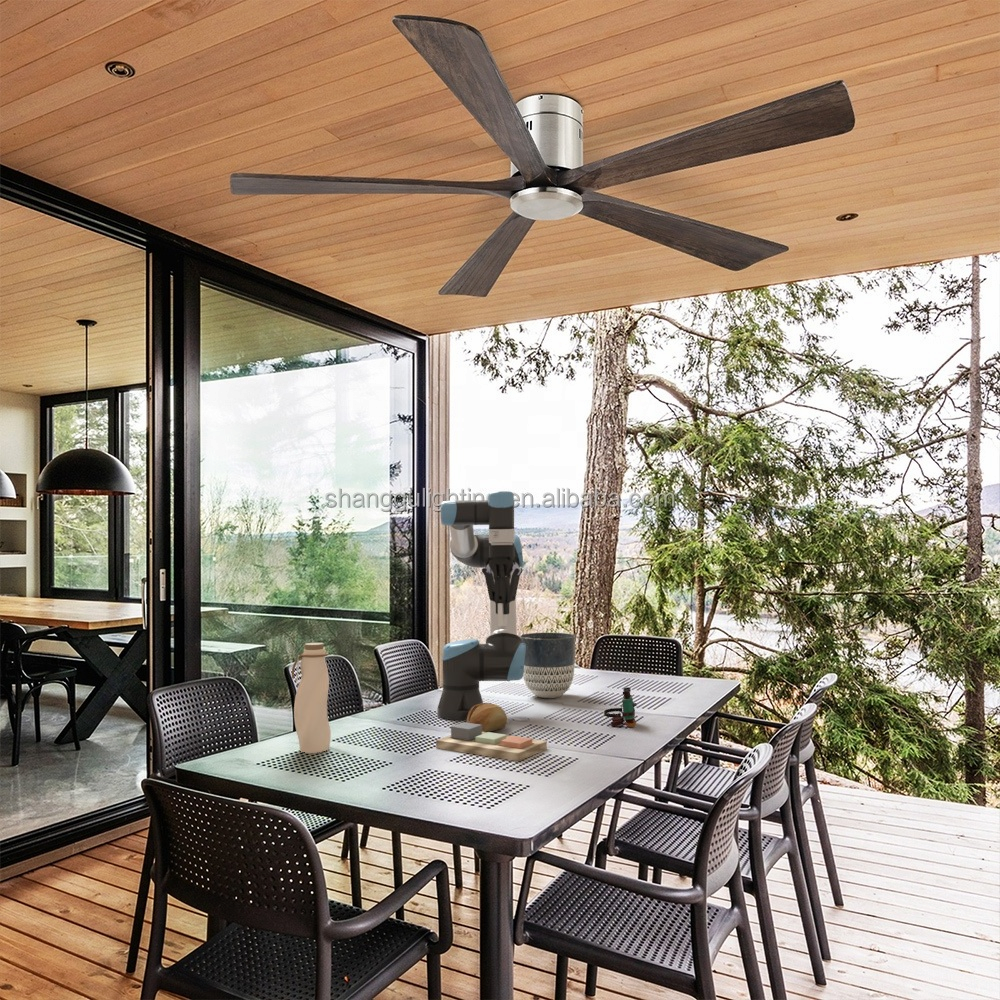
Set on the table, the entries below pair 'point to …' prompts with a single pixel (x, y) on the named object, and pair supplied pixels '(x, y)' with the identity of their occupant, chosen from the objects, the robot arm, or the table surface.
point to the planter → (549, 663)
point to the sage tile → (490, 738)
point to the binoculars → (627, 711)
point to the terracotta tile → (516, 742)
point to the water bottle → (312, 700)
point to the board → (491, 748)
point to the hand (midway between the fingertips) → (502, 625)
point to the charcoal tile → (466, 731)
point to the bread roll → (487, 716)
